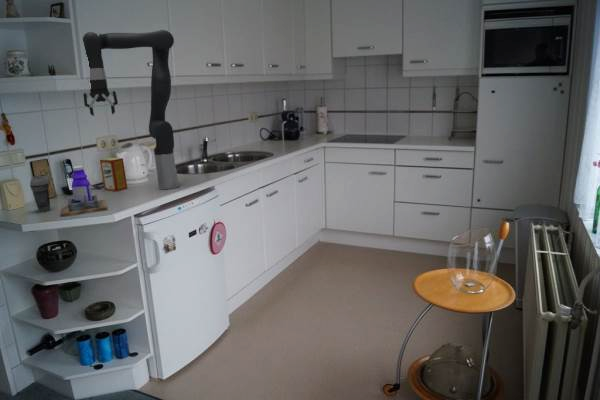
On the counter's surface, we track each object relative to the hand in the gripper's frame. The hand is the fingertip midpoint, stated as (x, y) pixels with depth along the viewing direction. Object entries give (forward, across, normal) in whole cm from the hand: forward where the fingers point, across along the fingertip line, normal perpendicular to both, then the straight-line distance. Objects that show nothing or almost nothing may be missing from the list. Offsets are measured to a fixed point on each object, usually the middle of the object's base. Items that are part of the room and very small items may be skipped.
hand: (103, 115), depth 222 cm
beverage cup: (+38, +30, +12) cm, 50 cm away
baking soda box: (+38, -1, -14) cm, 41 cm away
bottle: (+37, +14, +21) cm, 45 cm away
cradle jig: (+38, +14, +21) cm, 46 cm away
